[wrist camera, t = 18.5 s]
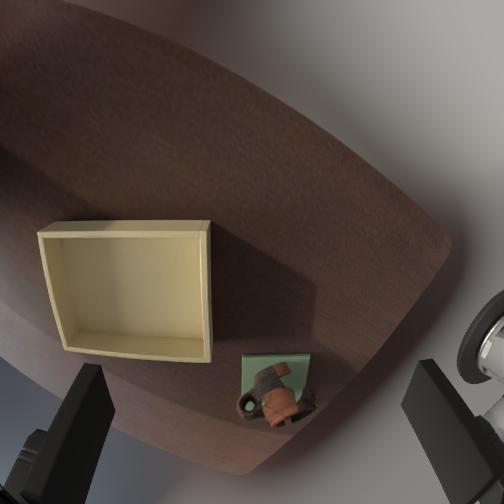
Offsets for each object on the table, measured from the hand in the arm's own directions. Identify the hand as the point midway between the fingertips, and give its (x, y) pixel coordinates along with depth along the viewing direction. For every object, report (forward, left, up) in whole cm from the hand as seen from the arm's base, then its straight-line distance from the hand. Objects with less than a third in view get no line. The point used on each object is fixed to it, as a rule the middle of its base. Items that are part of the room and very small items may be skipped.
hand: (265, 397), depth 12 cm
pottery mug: (-5, +26, -28) cm, 39 cm away
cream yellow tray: (+15, +9, -29) cm, 34 cm away
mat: (-5, +26, -29) cm, 39 cm away
